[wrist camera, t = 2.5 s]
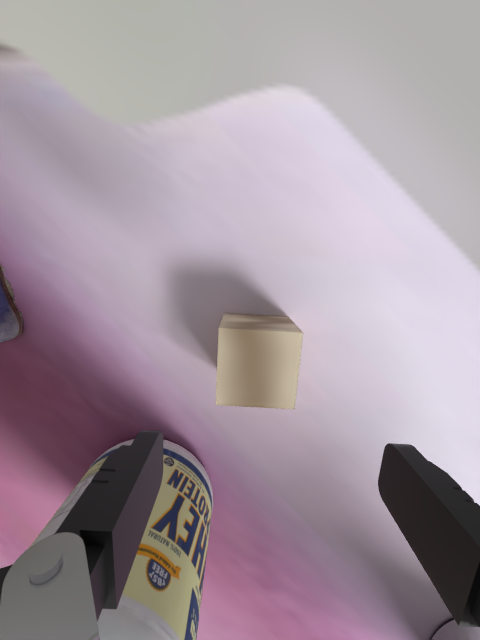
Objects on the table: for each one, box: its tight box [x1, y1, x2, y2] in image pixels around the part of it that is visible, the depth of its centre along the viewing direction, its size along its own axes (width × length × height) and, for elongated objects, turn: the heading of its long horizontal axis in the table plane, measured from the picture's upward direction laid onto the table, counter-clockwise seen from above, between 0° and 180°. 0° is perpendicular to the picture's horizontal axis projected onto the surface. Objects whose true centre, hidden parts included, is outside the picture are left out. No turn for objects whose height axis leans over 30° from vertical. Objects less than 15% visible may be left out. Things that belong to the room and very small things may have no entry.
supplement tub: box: [29, 439, 213, 640], centre depth 17 cm, size 12×12×17 cm
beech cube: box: [216, 313, 303, 409], centre depth 20 cm, size 6×6×6 cm
